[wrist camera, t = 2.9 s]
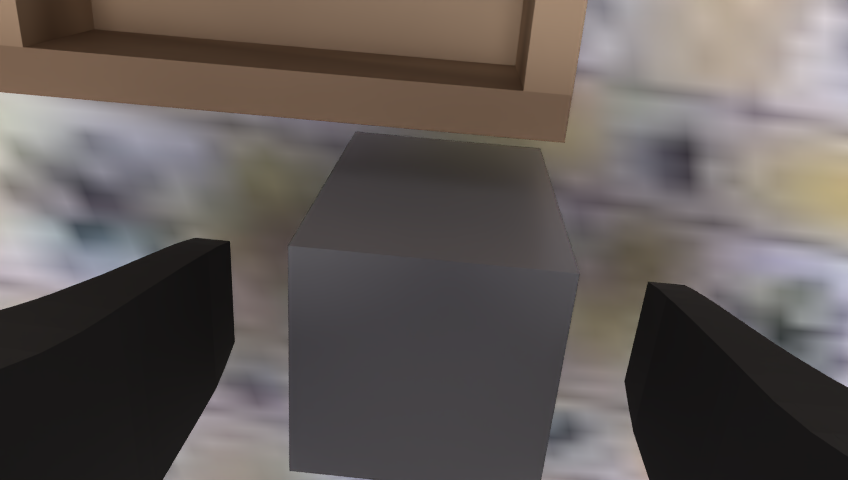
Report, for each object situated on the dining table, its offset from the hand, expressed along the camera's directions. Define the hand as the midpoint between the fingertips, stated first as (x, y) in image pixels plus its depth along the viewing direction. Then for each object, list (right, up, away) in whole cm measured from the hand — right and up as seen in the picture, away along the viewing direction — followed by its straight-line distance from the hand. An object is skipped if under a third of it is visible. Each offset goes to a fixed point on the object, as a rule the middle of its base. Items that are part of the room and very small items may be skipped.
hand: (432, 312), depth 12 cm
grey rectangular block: (0, +2, +4) cm, 4 cm away
